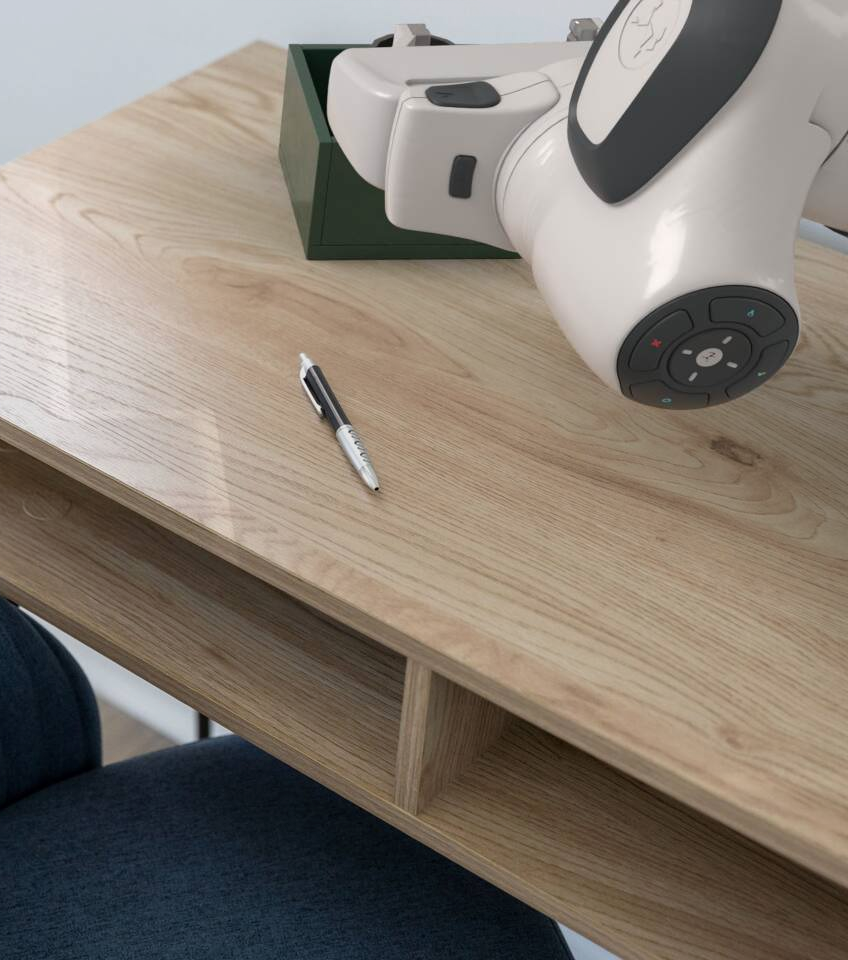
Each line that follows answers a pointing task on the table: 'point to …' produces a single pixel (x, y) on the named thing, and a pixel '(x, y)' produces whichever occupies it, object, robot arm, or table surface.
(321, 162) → the bin
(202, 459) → the table surface
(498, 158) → the robot arm
